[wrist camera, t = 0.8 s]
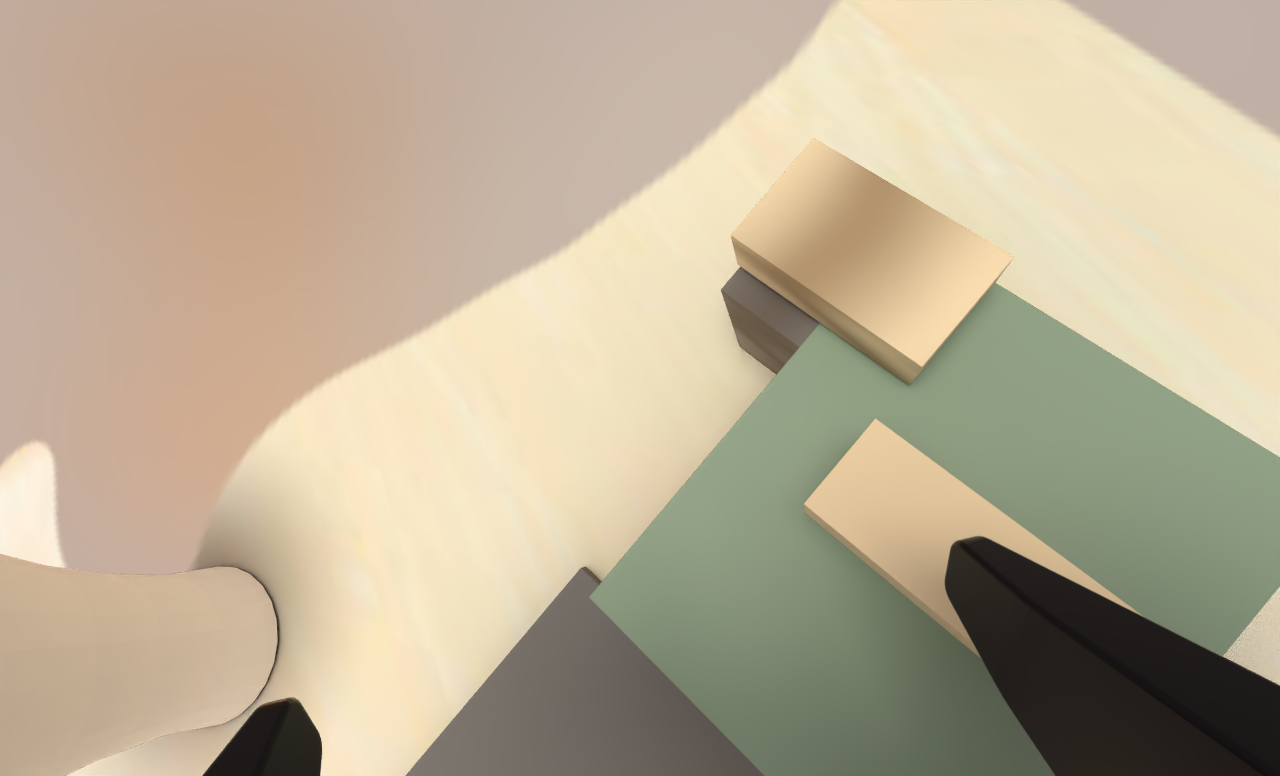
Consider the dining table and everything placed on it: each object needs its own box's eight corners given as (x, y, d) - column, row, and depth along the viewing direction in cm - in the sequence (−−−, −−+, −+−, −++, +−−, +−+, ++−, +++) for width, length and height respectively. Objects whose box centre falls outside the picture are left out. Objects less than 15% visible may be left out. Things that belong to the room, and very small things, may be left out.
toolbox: (1208, 497, 21) (1362, 480, 15) (916, 851, 21) (959, 972, 15) (824, 246, 26) (830, 160, 20) (584, 529, 25) (520, 526, 20)
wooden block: (992, 287, 18) (1014, 256, 16) (909, 385, 18) (922, 366, 16) (812, 176, 20) (813, 137, 18) (737, 264, 20) (730, 235, 18)
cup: (359, 686, 26) (-62, 823, 14) (162, 830, 27) (-418, 1091, 14) (264, 474, 30) (-144, 423, 17) (91, 606, 30) (-429, 653, 18)
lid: (1311, 503, 16) (1534, 487, 11) (949, 944, 16) (1014, 1125, 11) (896, 243, 20) (926, 146, 15) (601, 593, 20) (534, 611, 15)
